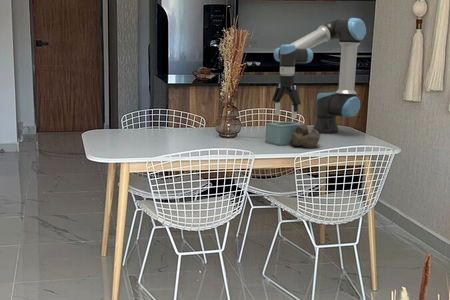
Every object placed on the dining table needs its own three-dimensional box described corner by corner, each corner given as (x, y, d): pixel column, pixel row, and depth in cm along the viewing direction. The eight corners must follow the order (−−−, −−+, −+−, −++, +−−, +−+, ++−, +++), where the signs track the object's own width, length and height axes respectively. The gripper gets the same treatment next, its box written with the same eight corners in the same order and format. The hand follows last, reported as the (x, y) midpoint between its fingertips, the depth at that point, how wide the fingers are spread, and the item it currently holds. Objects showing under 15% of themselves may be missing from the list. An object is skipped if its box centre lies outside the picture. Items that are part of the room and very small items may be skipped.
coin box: (289, 139, 318) (290, 121, 316) (304, 143, 308) (304, 124, 306) (265, 142, 309) (265, 123, 307) (279, 145, 299) (280, 126, 297)
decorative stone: (304, 139, 287) (287, 123, 297) (299, 157, 293) (282, 142, 303) (329, 134, 295) (311, 119, 305) (324, 153, 301) (306, 138, 311)
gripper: (266, 73, 310) (265, 114, 314) (297, 76, 290) (295, 119, 294) (277, 73, 314) (276, 113, 318) (308, 76, 294) (307, 119, 298)
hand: (285, 116), depth 306 cm, fingers open, 13 cm apart
